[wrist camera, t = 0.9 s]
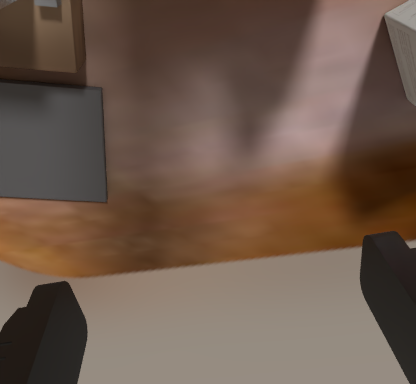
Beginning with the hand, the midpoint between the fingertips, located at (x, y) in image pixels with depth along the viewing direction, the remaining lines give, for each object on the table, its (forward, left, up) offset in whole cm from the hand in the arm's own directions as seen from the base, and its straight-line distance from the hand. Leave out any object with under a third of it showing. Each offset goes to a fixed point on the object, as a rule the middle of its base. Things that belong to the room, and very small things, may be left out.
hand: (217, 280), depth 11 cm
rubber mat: (+8, -12, -21) cm, 25 cm away
